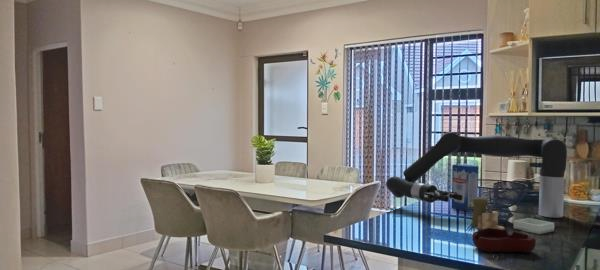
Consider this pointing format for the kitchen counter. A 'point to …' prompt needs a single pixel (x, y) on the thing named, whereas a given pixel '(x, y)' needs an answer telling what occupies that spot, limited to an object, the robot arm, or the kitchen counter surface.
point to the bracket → (489, 219)
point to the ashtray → (502, 241)
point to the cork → (478, 209)
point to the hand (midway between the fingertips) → (455, 198)
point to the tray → (533, 225)
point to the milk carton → (464, 185)
